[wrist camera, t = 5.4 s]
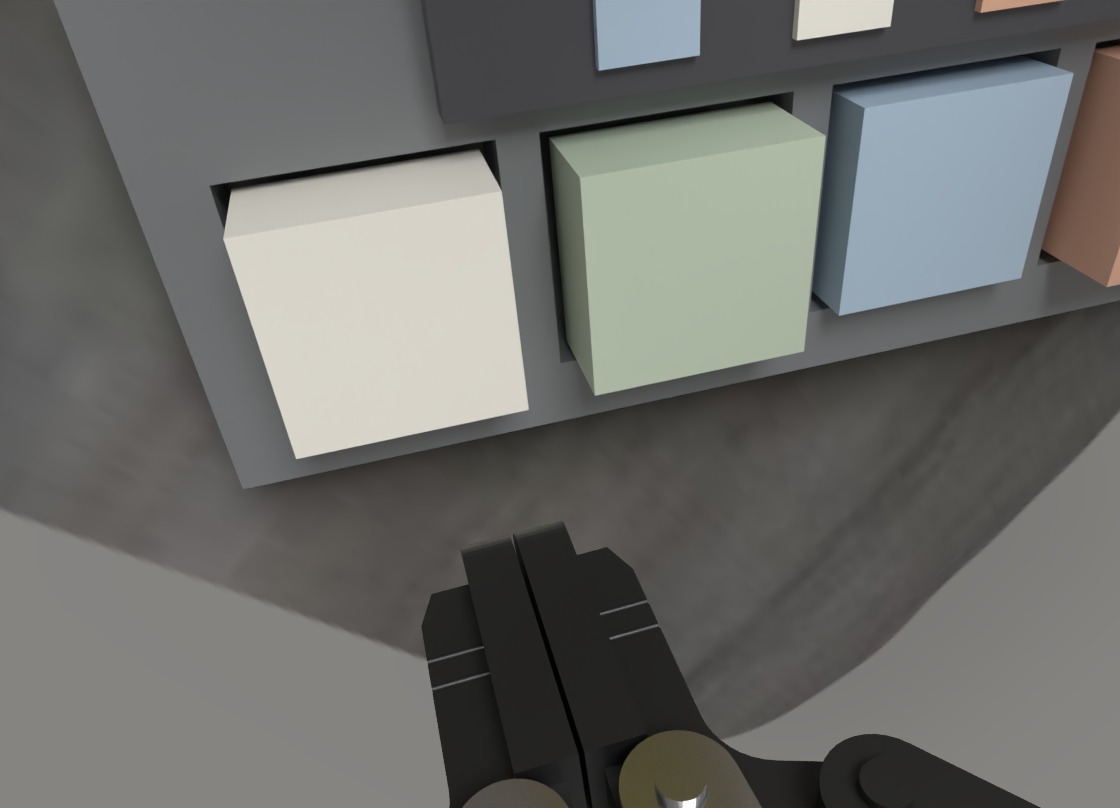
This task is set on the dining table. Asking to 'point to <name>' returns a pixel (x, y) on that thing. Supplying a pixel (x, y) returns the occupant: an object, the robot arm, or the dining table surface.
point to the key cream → (380, 299)
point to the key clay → (1091, 179)
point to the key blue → (934, 180)
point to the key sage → (686, 242)
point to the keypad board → (514, 149)
